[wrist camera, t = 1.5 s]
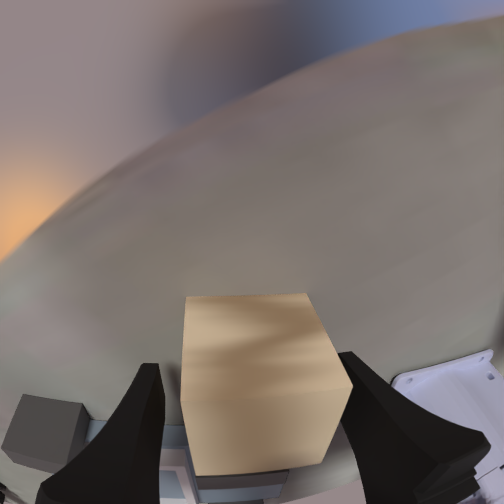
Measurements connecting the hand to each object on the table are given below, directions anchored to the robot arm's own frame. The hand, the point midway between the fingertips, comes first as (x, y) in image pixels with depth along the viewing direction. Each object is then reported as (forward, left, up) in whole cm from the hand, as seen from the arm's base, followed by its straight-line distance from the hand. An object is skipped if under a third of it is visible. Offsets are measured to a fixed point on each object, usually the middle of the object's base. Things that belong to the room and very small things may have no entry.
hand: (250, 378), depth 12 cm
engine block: (0, 0, -2) cm, 2 cm away
